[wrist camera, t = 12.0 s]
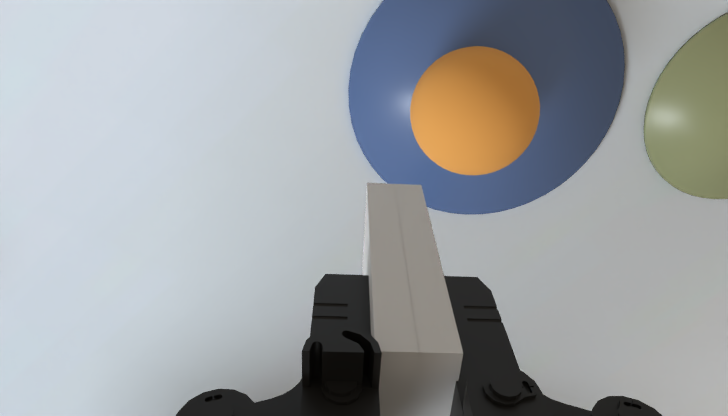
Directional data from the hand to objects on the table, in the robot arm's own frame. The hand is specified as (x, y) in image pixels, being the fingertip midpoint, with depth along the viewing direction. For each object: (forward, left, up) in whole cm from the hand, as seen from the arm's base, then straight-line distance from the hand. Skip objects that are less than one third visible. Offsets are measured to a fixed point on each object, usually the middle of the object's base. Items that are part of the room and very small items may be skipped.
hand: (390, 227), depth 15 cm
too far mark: (0, -18, -12) cm, 22 cm away
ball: (0, -4, -9) cm, 10 cm away
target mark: (0, -5, -12) cm, 13 cm away
